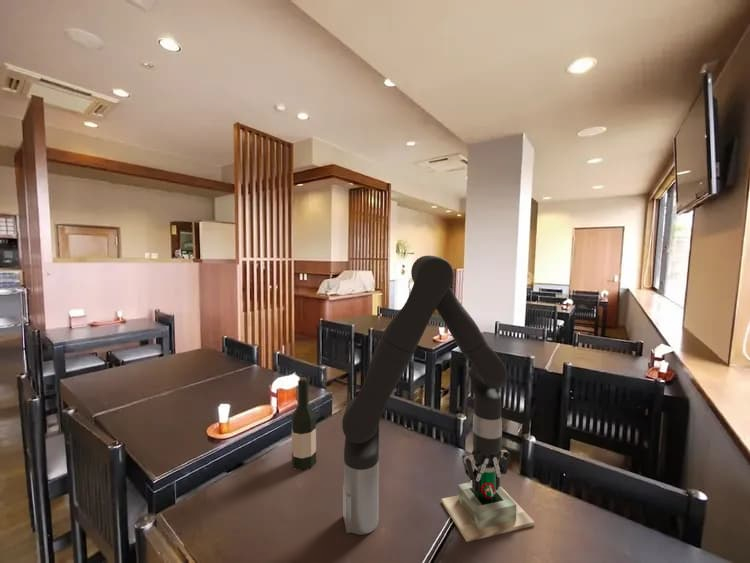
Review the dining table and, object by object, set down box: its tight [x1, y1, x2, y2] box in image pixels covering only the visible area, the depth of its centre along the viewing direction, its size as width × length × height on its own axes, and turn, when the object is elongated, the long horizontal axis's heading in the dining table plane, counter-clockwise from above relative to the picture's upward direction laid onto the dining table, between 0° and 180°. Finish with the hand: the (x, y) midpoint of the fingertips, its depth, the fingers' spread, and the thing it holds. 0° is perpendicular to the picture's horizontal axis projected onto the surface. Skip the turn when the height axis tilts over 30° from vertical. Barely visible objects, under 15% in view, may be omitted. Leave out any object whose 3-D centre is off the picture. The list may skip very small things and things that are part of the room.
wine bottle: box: [291, 376, 317, 471], centre depth 112 cm, size 8×8×30 cm
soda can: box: [476, 465, 496, 505], centre depth 89 cm, size 5×5×12 cm
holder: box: [440, 481, 535, 543], centre depth 90 cm, size 20×14×6 cm
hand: (485, 489), depth 90 cm, fingers closed on soda can, 5 cm apart
